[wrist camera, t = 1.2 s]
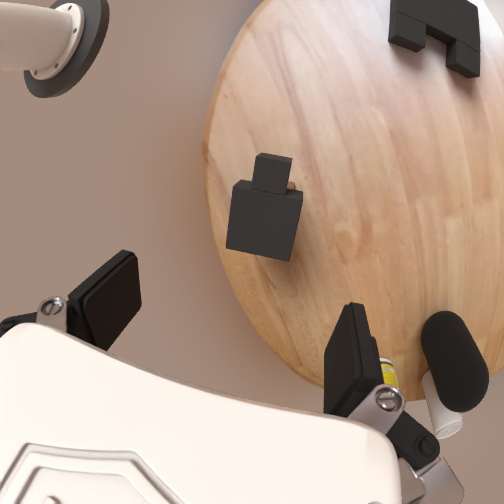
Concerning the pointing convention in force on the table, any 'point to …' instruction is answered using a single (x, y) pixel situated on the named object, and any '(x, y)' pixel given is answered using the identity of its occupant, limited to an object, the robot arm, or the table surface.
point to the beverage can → (440, 411)
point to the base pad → (439, 30)
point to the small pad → (265, 210)
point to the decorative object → (454, 362)
